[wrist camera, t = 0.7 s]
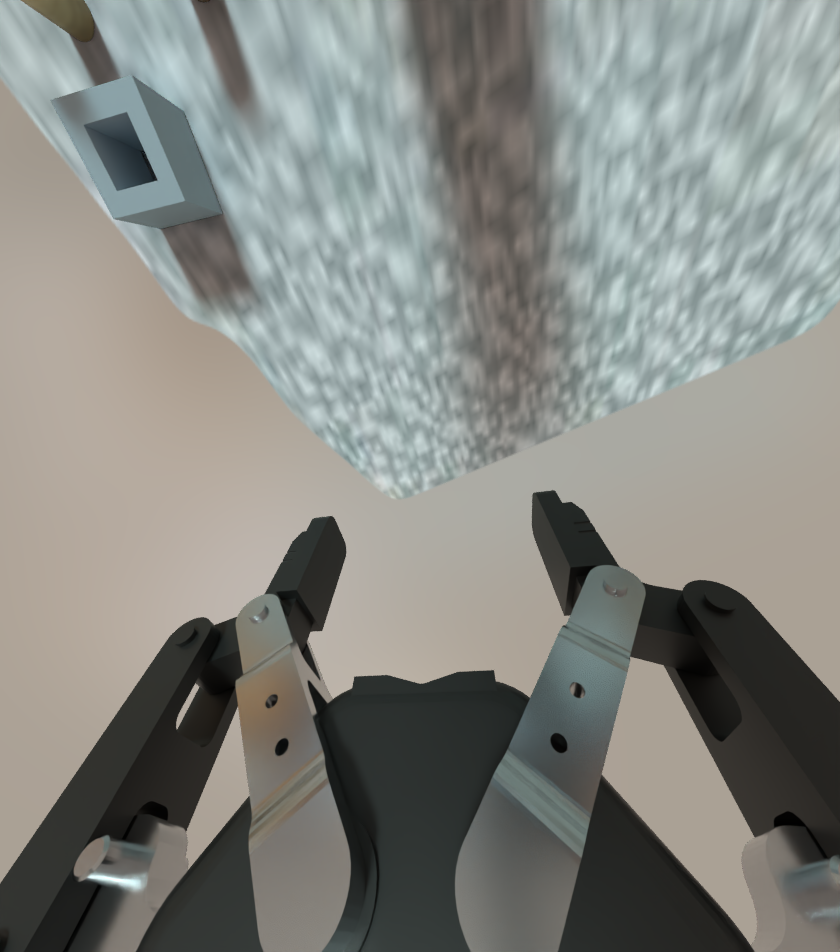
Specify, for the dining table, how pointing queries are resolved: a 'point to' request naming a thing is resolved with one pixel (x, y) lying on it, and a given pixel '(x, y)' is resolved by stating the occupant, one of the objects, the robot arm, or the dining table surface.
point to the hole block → (139, 153)
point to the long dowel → (67, 16)
